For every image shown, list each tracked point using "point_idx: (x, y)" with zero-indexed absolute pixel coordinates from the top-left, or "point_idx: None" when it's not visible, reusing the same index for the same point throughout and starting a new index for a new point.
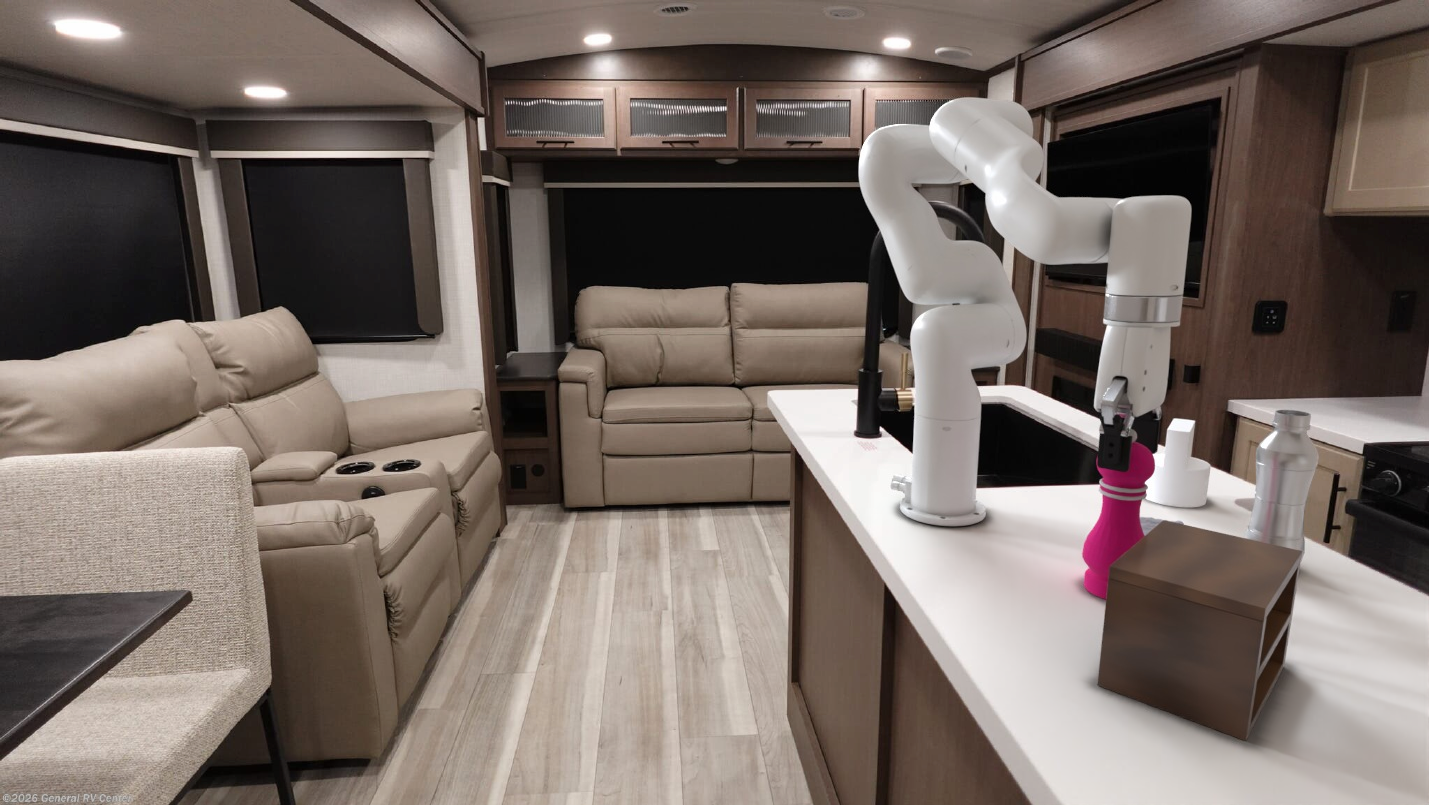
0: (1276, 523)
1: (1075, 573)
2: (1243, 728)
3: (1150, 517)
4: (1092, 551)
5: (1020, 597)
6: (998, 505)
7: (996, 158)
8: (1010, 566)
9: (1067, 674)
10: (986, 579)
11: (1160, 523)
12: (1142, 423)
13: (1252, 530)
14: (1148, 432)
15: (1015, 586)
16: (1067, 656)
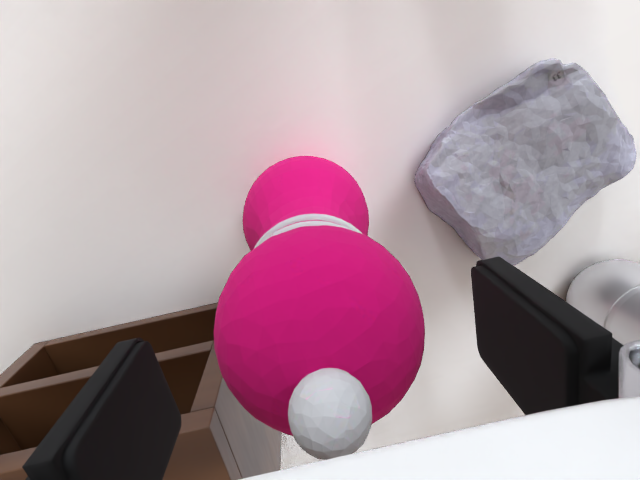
0: None
1: (315, 122)
2: None
3: (615, 116)
4: (244, 208)
5: (136, 126)
6: None
7: None
8: (231, 16)
9: (17, 311)
10: (134, 29)
11: (179, 435)
12: (554, 393)
13: (622, 298)
14: (526, 388)
15: (164, 89)
16: (54, 285)
